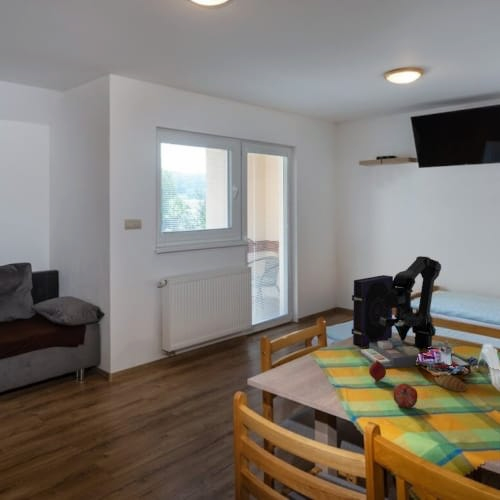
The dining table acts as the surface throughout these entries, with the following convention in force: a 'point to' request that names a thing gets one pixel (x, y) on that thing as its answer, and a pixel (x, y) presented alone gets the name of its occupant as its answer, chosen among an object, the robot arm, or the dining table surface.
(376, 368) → the onion
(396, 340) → the key slate
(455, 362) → the calculator
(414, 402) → the pomegranate
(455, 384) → the pastry
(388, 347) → the light grey key
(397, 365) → the keypad console
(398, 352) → the key terracotta
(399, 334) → the robot arm
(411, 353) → the key sand
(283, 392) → the dining table surface
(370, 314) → the book
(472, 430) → the dining table surface
